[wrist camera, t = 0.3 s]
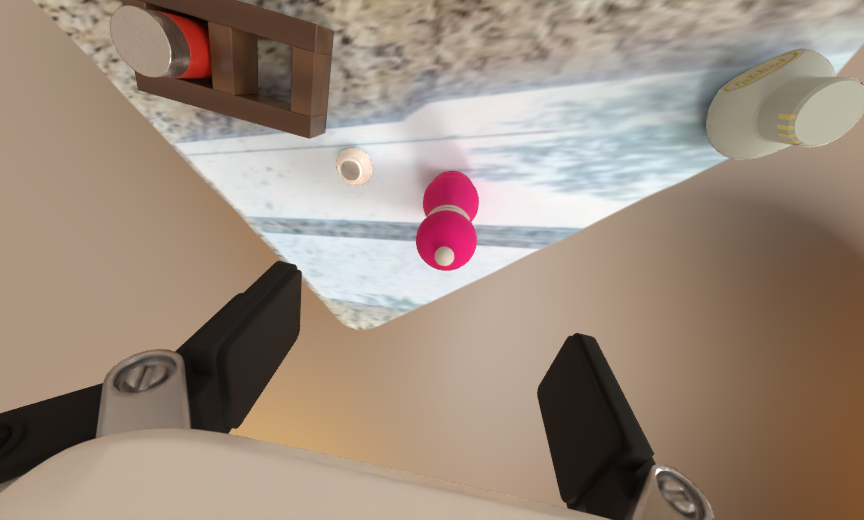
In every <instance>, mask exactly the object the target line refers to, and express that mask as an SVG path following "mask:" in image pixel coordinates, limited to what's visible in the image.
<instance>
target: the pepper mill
mask: <svg viewBox="0 0 864 520" xmlns="http://www.w3.org/2000/svg"><path fill="white" fill-rule="evenodd" d="M478 205H479V198H478V194H477V191H476V189H475V187H474V186H473V184H472V182H471V181H470V179H469V178H468V177H467V176H465V175H464V174H462V173H460V172H457V171H448V172H444V173H442V174H440V175H439V176H437V177H436V178H435V180H434V181H433V182H432V183H430V185H429V186H428V187H427V189H426V191H425V194H424V199H423V208H424V212H425V215H426V217H427V218H426V219H424V220H423V222H422V223H421V225H420V226H419V228H418V231H417V236H416V246H417V250H418V253H419V254H420V256H421V258H422V259H423V260H424V261H425V262H426V263H427V264H428V265H430V266H431V267H433V268H435V269H438V270H443V271H450V270H455V269H458V268H460V267H461V266H463V265H465V264H466V263H467V262H468V261H469V260H470V259H471V257H472V256H473V254H474V252H475V249H476V243H477V236H476V232H475V229H474V227H473V225H472V223H471V221H472V220H473V219H474V217H475V216H476V214H477V211H478Z"/></svg>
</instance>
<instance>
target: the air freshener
mask: <svg viewBox="0 0 864 520" xmlns="http://www.w3.org/2000/svg"><path fill="white" fill-rule="evenodd" d="M863 112H864V83H860V80H859V79H856V78H853V77H836V73H835V71H834V68H833V66H832V65H831V63H830V62H829V61H828V60H827V59H826V58H825V57H824V56H822V55H821V54H819V53H816V52H814V51H811V50H806V49H797V50H793V51H789V52H787V53H784V54H781V55H779V56H776V57H774V58H772V59H769V60H767V61H765V62H763V63H761V64H759V65H757V66H755V67H753V68H751V69H749V70H747V71H746V72H744V73H742V74H740V75H739V76H737V77H735V78H734V79H732V80H731V81H729V82H728V83H727V84H725V85H724V86H723V87H722V88H721V89H720V90H719V91H718V92H717V94H716V96H715V97H714V99H713V101H712V103H711V105H710V108H709V110H708V114H707V119H706V132H707V136H708V139H709V141H710V143H711V144H712V146H713V147H714V148H715V149H716V150H717V151H718V152H719V153H721V154H722V155H724V156H726V157H729V158H732V159H736V160H750V159H754V158H758V157H762V156H765V155H768V154H771V153H774V152H777V151H779V150H781V149H784V148H786V147H788V146H790V145H795V146H801V147H807V148H809V147H818V146H822V145H825V144H828V143H830V142H832V141H834V140H836V139H838V138H839V137H841V136H842V135H843V134H845V133H846V132H847V131H848V130H850V129H851V128H852V127H853V126H854V125H855V124H856V123H857V121H858V120H859V119H860V118H861V116H862V115H863Z"/></svg>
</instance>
